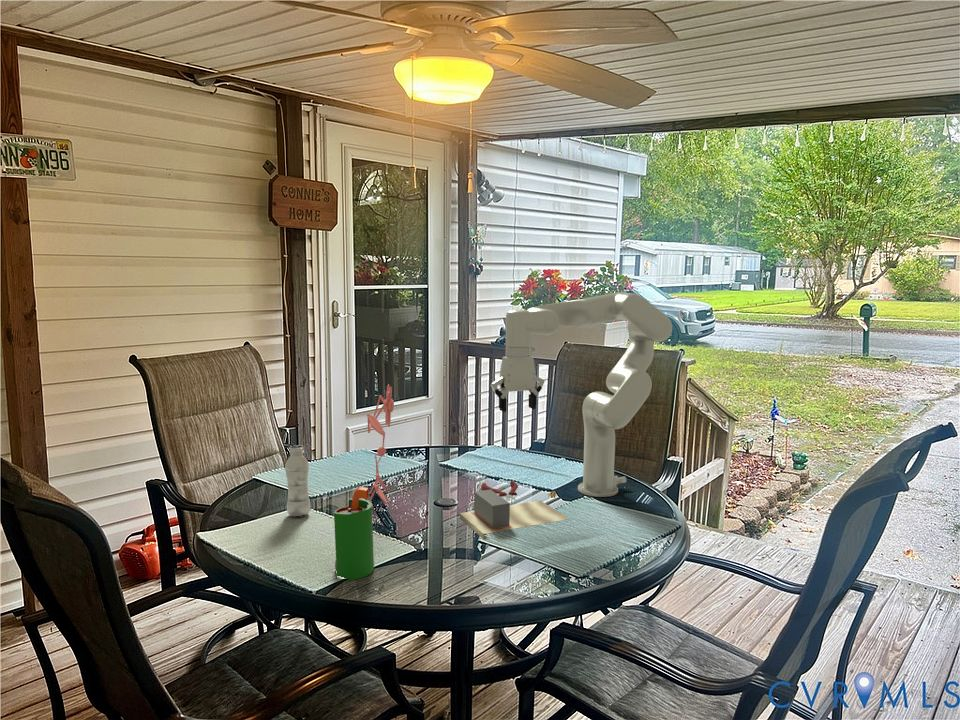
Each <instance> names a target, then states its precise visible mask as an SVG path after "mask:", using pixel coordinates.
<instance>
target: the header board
mask: <svg viewBox="0 0 960 720" xmlns="http://www.w3.org/2000/svg"><path fill="white" fill-rule="evenodd" d="M459 519H460V520H461V521H462V522H463V523H465V524H466V526H468V527H469V528H470V529H471V530H472V531H473V532H474V533H476V534H477V535H478V536H479V537H480V538H481V539H482V540H488V539H489V537H488V536H486V535H487V534H491V533H492V534H493V533H497V532H498V533H499V532H504V531H509V530H516V529H520V528H527V527H532V526H537V525H543V524H544V525H545V524H549V523H556V522H561V521H567V520H569V517H567V516H565V515H564V514H563V513H561V512H559V511H557V510H556V509H555V508H553V507H552V506H550V505H548V504H547V503H545V502H543V501H542V500H535V501H529V502H522V503H516V504H510V523H509V526H506V527H500V528H494V529H492V528H491V527H490V526H489V525H488V524H486V523H485V522H484V521H483V520H482V519H480V518H479V517H478V516H477V515H476V514H474V510H471V511H465V512H459ZM485 534H486V535H485Z"/></svg>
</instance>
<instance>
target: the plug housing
mask: <svg viewBox="0 0 960 720" xmlns="http://www.w3.org/2000/svg"><path fill="white" fill-rule="evenodd" d="M473 494H474V496H473V497H474V499H473V501H474V503H473V504H474V505H473V507H474V508H473V511H474V514H476V515H477V516H478V517H479V518H480V519H482V520H483V521H484V522H485V523H486V524H488V525H489V526H490V527H491V528H492V529H494V528H500V527H506V526H509V523H510V505H511V503H510V502H509V501H508V500H507V499H506V498H505V499H504V498H503V496H499V494H497V493H495V492H493V491H492V490H491V489H490V490H478V491H474V492H473Z"/></svg>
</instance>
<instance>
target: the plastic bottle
mask: <svg viewBox="0 0 960 720" xmlns="http://www.w3.org/2000/svg"><path fill="white" fill-rule="evenodd" d="M304 453H305V450H304V445H299V444H297V445H291V446H289V457H288V459H286V462H285V464H284V469H285V475H286V481H287V482H286V483H287V501H286V511H287V514H288V516H290V515H291V516H290V517H292V516H301V517H303V516H302V515H305V516H307V515H308V514H309V513H310V512H311V506H312V504H311V499H310V495H309V488H308V487H309V483H308V482H309V481H308V479H309V467H310V463H309V461H308V459H307V458H306V457H305V456H304ZM306 514H307V515H306Z"/></svg>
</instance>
